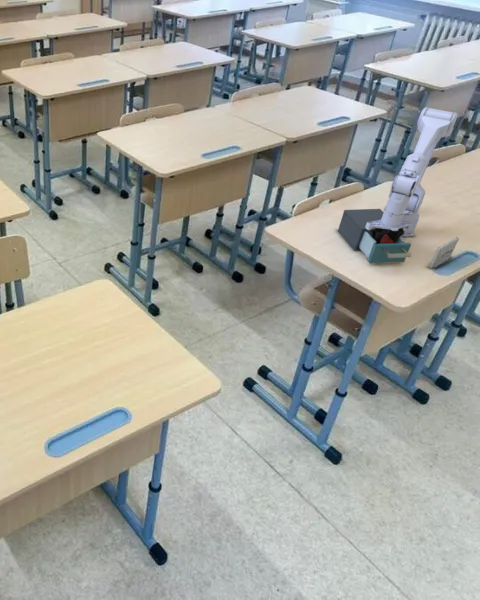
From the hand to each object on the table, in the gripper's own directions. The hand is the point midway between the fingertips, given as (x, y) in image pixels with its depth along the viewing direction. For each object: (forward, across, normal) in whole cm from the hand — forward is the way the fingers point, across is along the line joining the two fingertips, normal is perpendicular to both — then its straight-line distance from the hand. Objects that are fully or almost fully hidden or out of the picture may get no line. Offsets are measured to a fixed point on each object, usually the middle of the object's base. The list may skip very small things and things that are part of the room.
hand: (380, 247), depth 186 cm
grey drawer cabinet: (+3, 0, +10) cm, 11 cm away
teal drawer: (+3, 0, -2) cm, 3 cm away
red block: (+1, 0, 0) cm, 1 cm away
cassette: (+4, +18, -6) cm, 20 cm away
